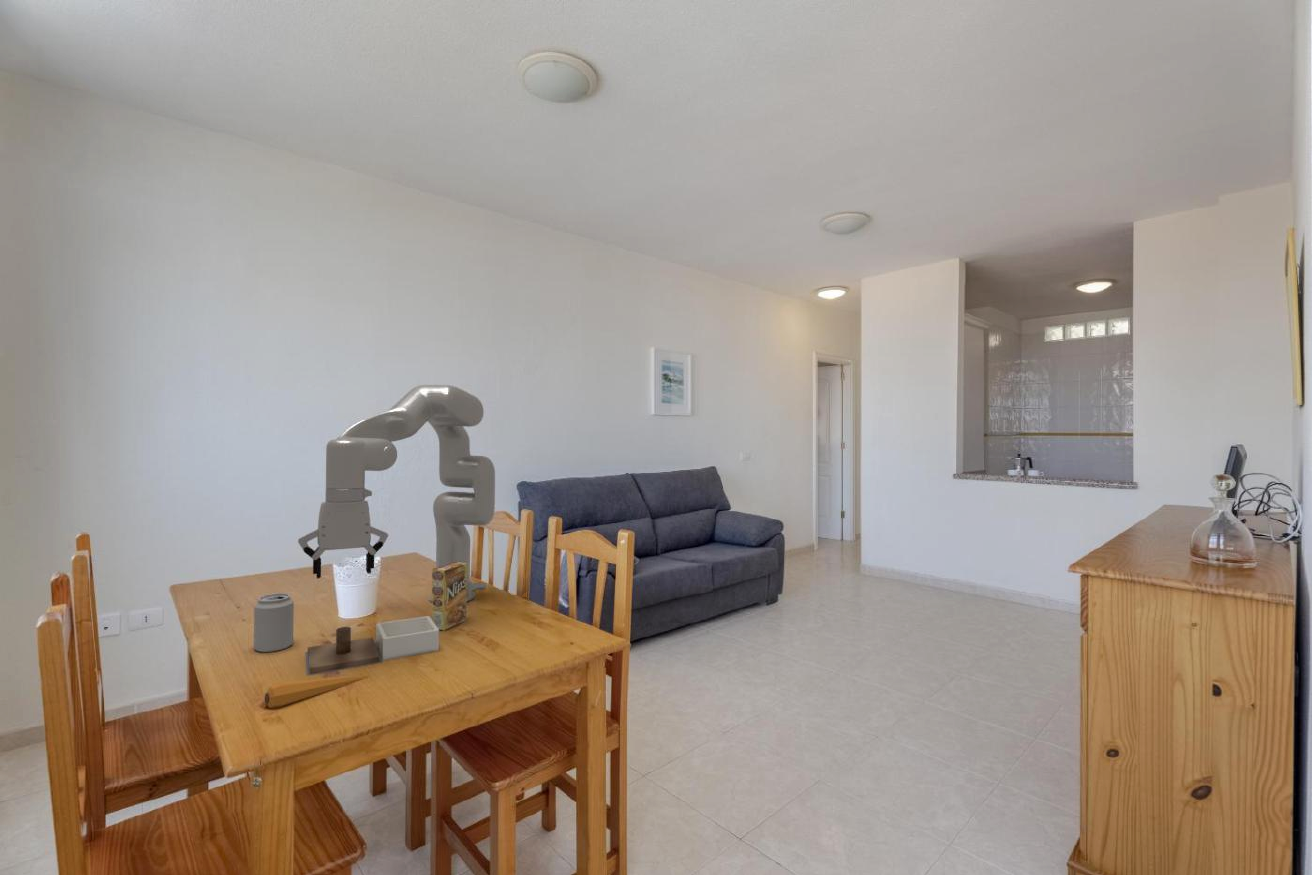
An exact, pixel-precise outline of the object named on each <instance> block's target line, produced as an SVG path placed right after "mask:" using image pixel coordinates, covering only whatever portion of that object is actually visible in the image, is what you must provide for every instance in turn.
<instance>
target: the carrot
mask: <svg viewBox="0 0 1312 875" xmlns="http://www.w3.org/2000/svg"><path fill="white" fill-rule="evenodd" d="M371 676H372V675H371V674H370V675H368V674H367V675H349V676H347V675H345V676H339V677H338V676H337V677H327V678H316V679H305V680H292V681H284V682H277V683H275V684H273V685H270V686H269V688H268V689H267V690H266V693H265V694H264V703H265V704H266V706H267V707H268V708H269V709H276V708H282V707H284V706H288V705H291V704H294V703H296V702H301V701H303V700H307V699H309V698H311V697H315V696H317V695H321V694H325V693H328V692H330V691H333V690H336V689H339V688H342V687H345V686H348V685H351V684H353V683H356V682H358V681H361V680H364V679H366V678H369V677H371Z"/></svg>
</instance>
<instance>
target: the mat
mask: <svg viewBox="0 0 1312 875" xmlns="http://www.w3.org/2000/svg"><path fill="white" fill-rule="evenodd" d="M374 642H375V645H376V648H377V650H378V653H379V656H380V662H377V663H371V664H365V665H360V666H354V667H348V668H342V669H337V670H331V671H325V672H319V673H314V674H309V661H308V651H306V652H305V654H304V655H305V670H306V672H305V673H306V677H308V676H314V675H319V674H324V673H325V674H327V673H329V672H330V673H331V672H338V671H342V670H348V669H355V668H360V667H364V666H370V665H376V664H383V660H382V657H381V654H380V652H379V649H378V646H377V644H376V640H374Z"/></svg>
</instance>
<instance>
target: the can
mask: <svg viewBox="0 0 1312 875" xmlns="http://www.w3.org/2000/svg"><path fill="white" fill-rule="evenodd" d="M294 602H295V601H294V600H293V599H292V598H291V594H290V593H286V592H277V593H269V594H265V595H262V596H260V597H258V599H257V602H256V603H255V604H254V607H253V608H254V610H253V620H254V621H253V649H254V650H255V651H257V652H259V653H273V652H275V653H276V652H279V651H282V650H283V651H284V650H286V649H287V648H289V647H290V646H291V645H293V643H294V615H295V614H294V608H295V606H294V604H295V603H294Z"/></svg>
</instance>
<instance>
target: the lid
mask: <svg viewBox="0 0 1312 875" xmlns="http://www.w3.org/2000/svg"><path fill="white" fill-rule="evenodd" d="M335 630H336V633H335V634H336V635H335V637H336V638H335V643H334V642H333V643H327V644H320V645H315V646H308V647H307V652H308V661H309V674H314V673H319V672H325V671H331V670H337V669H342V668H348V667H354V666H360V665H365V664H371V663H377V662H380V657H381V655H380V656H379V654H380V652H379V649H378V647H377V648H376V646H377V644H376V641H375V640H374V637H372V636H371V637H367V638H359V639H354V640H351V639H352V638H351V637H352V636H351V635H352V634H351V633H352V631H351V630H352V628H351V627H349V626H342V627H338V628H336V629H335ZM374 641H375V642H374ZM375 644H376V645H375ZM377 649H378V650H377ZM378 652H379V653H378ZM377 664H378V663H377ZM360 667H361V666H360ZM337 671H338V670H337Z"/></svg>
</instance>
